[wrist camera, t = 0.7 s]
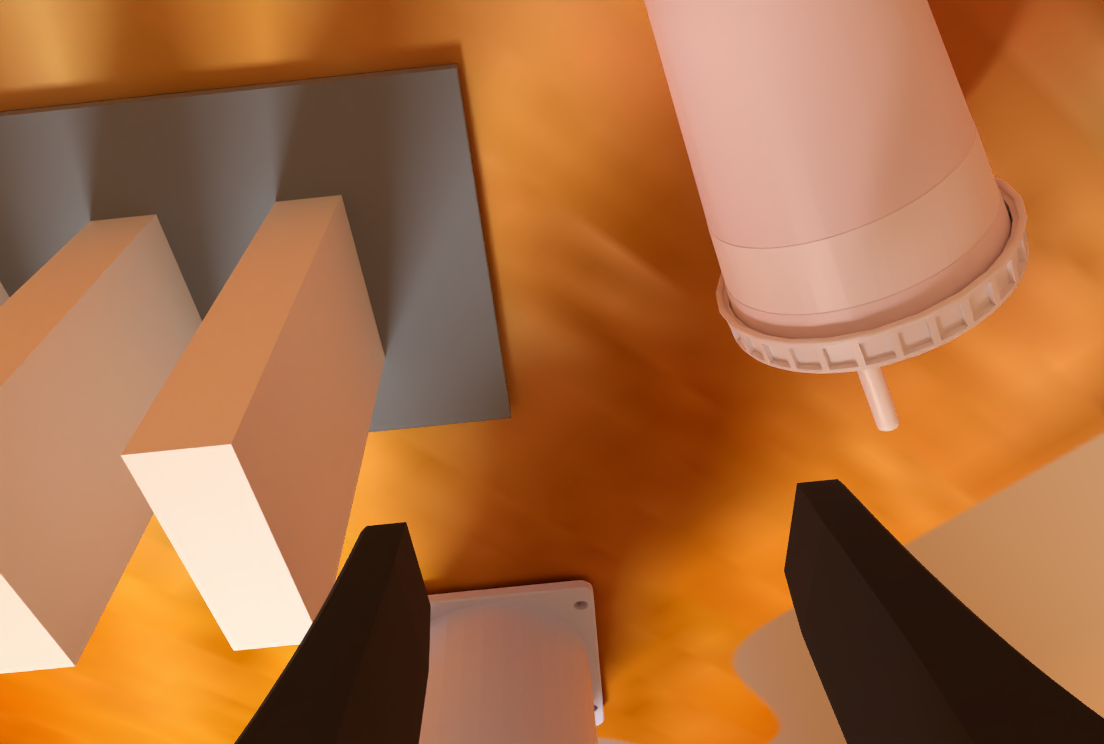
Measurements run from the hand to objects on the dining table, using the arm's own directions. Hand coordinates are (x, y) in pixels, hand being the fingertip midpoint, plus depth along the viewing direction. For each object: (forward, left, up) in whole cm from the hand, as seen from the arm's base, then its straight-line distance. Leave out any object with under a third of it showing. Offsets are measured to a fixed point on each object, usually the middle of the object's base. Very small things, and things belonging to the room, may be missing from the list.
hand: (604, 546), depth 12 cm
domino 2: (0, +6, -10) cm, 11 cm away
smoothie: (+9, -3, -7) cm, 12 cm away
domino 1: (0, +11, -10) cm, 14 cm away
